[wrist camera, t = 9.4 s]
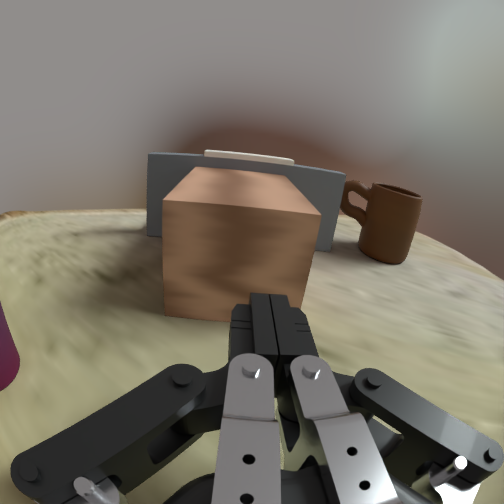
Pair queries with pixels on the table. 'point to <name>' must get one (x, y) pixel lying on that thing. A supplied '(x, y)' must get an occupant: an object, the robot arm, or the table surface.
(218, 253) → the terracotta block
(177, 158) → the rail
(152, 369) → the table surface
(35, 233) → the table surface
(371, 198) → the mug
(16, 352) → the cup
